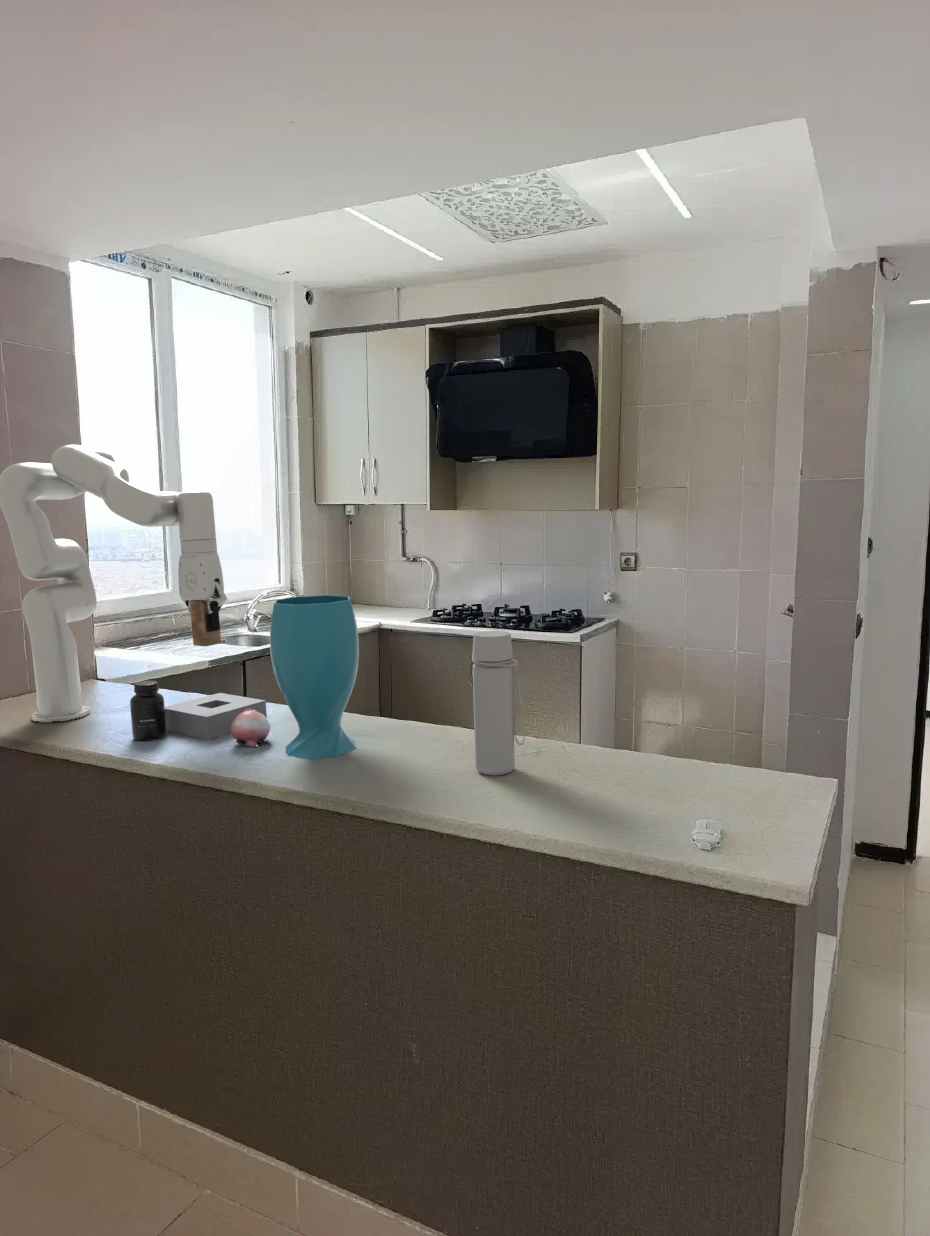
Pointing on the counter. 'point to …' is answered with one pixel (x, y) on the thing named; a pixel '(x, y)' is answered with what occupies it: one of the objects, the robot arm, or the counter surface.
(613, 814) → the counter surface
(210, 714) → the socket block
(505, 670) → the water bottle
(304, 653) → the vase
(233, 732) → the pink round piece
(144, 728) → the supplement bottle
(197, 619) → the peg
